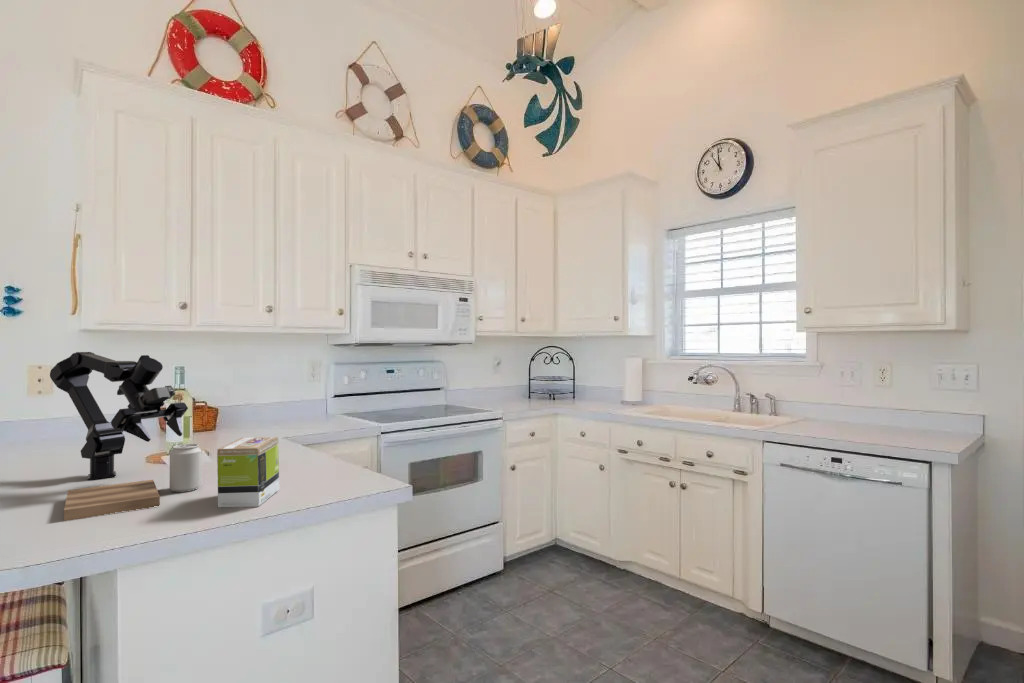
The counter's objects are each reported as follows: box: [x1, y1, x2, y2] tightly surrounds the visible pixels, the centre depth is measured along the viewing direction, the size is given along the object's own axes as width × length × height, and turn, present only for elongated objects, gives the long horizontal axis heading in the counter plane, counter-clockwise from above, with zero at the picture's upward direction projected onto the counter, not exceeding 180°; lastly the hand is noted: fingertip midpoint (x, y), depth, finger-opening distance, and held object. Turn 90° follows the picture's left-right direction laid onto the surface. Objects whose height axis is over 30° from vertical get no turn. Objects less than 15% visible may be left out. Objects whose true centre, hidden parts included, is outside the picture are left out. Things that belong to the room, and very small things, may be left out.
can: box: [169, 443, 203, 492], centre depth 148 cm, size 8×8×12 cm
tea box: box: [216, 436, 280, 508], centre depth 139 cm, size 15×10×15 cm, turn 5°
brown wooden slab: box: [63, 479, 161, 522], centre depth 135 cm, size 20×18×3 cm
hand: (165, 437), depth 151 cm, fingers open, 9 cm apart
